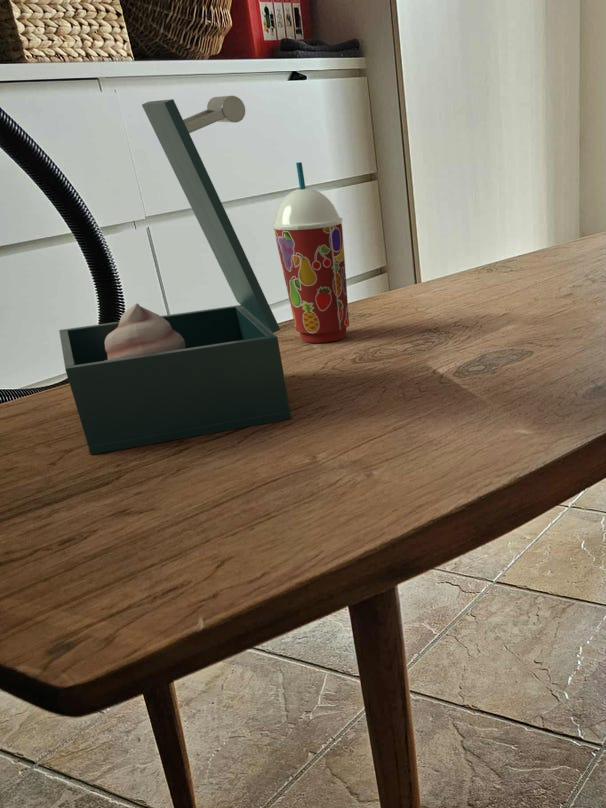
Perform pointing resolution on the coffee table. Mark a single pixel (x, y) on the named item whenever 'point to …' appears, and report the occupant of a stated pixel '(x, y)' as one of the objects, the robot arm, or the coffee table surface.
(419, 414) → the coffee table surface
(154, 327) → the cupcake
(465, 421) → the coffee table surface
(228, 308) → the dark green box
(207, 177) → the lid
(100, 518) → the coffee table surface
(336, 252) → the smoothie
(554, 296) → the coffee table surface
